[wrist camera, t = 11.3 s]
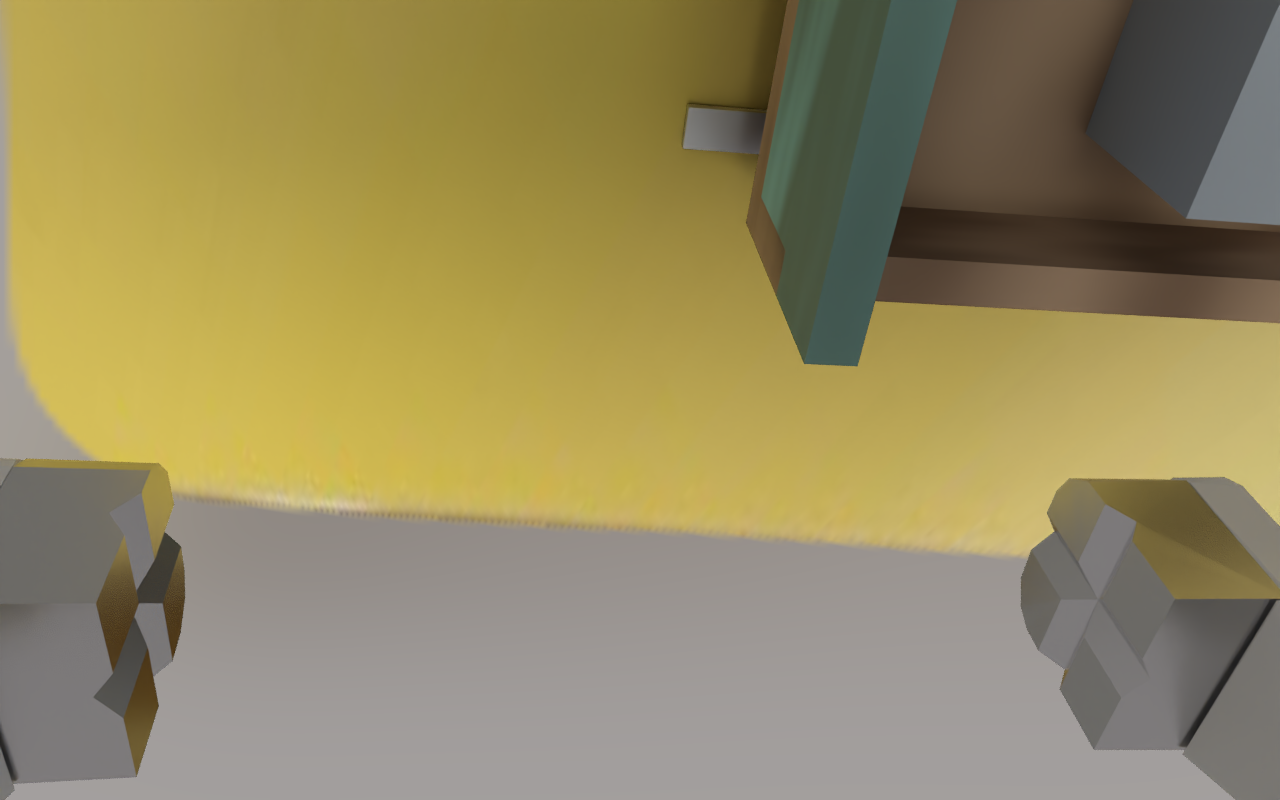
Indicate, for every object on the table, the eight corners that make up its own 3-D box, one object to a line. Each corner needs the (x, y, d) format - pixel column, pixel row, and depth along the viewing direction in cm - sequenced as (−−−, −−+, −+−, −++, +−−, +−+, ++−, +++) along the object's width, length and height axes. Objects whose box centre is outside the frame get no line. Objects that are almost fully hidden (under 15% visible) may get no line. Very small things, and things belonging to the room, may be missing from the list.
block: (1356, -55, 25) (1518, 3, 21) (1262, 147, 28) (1390, 232, 24) (1160, -77, 25) (1290, -21, 21) (1085, 133, 27) (1185, 218, 23)
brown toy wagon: (1611, -199, 27) (2045, -138, 20) (1377, 229, 34) (1631, 400, 26) (816, -311, 24) (960, -290, 17) (730, 184, 31) (804, 363, 23)
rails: (1841, -127, 30) (1852, -125, 29) (1611, 214, 35) (1618, 218, 35) (742, -274, 25) (744, -274, 25) (681, 144, 31) (683, 148, 31)
